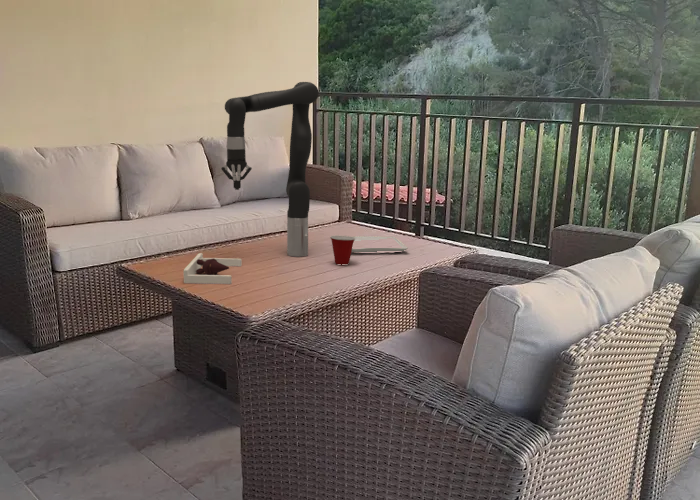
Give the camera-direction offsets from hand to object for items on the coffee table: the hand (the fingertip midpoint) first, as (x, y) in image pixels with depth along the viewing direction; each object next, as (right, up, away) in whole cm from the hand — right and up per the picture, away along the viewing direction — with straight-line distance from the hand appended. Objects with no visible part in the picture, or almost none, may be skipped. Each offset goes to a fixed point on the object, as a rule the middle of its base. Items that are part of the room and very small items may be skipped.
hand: (237, 189), depth 265 cm
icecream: (-7, -35, -17) cm, 40 cm away
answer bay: (-5, -35, -16) cm, 39 cm away
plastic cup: (+44, -31, +5) cm, 54 cm away
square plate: (+58, -25, +35) cm, 73 cm away
